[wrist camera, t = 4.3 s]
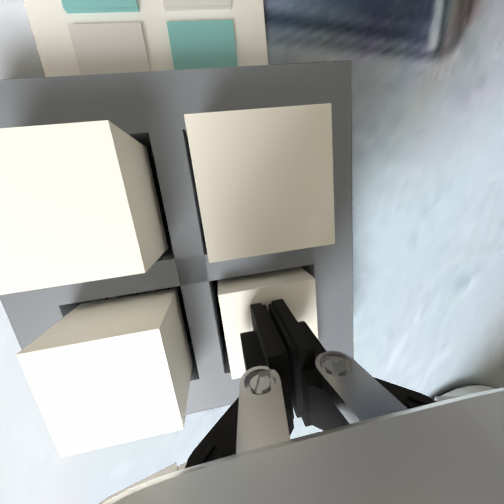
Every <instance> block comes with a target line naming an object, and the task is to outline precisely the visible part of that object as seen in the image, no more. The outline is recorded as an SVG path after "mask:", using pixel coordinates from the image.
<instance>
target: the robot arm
mask: <svg viewBox="0 0 504 504" xmlns="http://www.w3.org/2000/svg"><path fill="white" fill-rule="evenodd" d="M250 309H251V317H252V325H253V331H249V332H244V333H240V338H241V345H242V352H243V358H244V364H245V370H246V372H245V373H244V374H243V375H242V377H241V379H240V385H239V397H238V398H237V399H236V400H235V402H234V403H233V404H232V405H231V406H230V408H229V409H228V410H227V411H226V412H225V414H224V415H223V416H222V417H221V418H220V420H219V421H218V422H217V423H216V424H215V426H214V427H213V428H212V429H211V430H210V431H209V433H208V434H207V435H206V436H205V437H204V439H203V440H202V441H201V442H200V443H199V445H198V446H197V447H196V448H195V449H194V451H193V452H192V454H191V455H190V457H189V458H188V461H187V462H186V463H184V464H182V465H180V466H177V463H175V464H173V465H171V466H169V467H167V468H165V469H163V470H161V471H159V472H157V473H155V474H153V475H151V476H149V477H147V478H145V479H143V480H141V481H139V482H137V483H135V484H133V485H131V486H129V487H127V488H125V489H123V490H121V491H119V492H117V493H115V494H113V495H111V496H109V497H108V498H106V499H105V500H103V501H102V502H100V503H99V504H504V387H503V388H498V389H494V388H492V387H489V386H482V385H474V386H465V387H461V388H457V389H454V390H452V391H449V392H447V393H445V394H443V395H441V396H435V399H434V400H433V399H431V398H430V397H428V396H426V395H423V394H421V393H418V392H415V391H412V390H409V389H406V388H403V387H401V386H398V385H395V384H392V383H389V382H386V381H383V380H380V379H377V378H374V377H372V376H371V375H370V374H369V373H368V372H367V371H366V370H365V369H363V368H362V367H361V366H360V365H359V364H358V363H357V362H356V361H355V360H353V359H352V358H351V357H350V356H348V355H347V354H344V353H342V352H338V351H326V350H325V348H324V347H323V346H322V344H321V343H320V341H319V340H318V339H317V337H316V336H315V335H314V333H313V332H312V330H311V329H310V328H309V326H308V325H307V323H306V322H305V321H300V322H298V321H297V320H296V318H295V317H294V315H293V314H292V312H291V311H290V309H289V308H288V306H287V305H286V303H285V302H284V300H283V299H278V300H273V301H272V304H268V309H269V311H268V309H267V307H266V305H262V304H261V303H256V304H251V305H250ZM293 408H294V411H295V414H296V416H297V418H299V417H302V419H303V422H304V424H305V427H306V426H310V425H313V426H315V427H317V428H319V432H317V433H314V434H310V435H306V436H302V437H298V438H295V439H291V440H290V435H291V433H292V431H293V429H294V424H293V419H294V414H293Z"/></svg>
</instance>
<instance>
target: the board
mask: <svg viewBox="0 0 504 504" xmlns="http://www.w3.org/2000/svg"><path fill="white" fill-rule="evenodd" d="M23 2H24V5H25V9H26V12H27V16H28V19H29V23H30V26H31V29H32V33H33V36H34V40H35V43H36V46H37V50H38V53H39V57H40V60H41V64H42V67H43V70H44V74H45V77H38V78H19V79H1V80H0V128H12V127H25V126H38V125H51V124H64V123H77V122H90V121H103V120H109V121H110V122H111V123H113V124H114V125H116V126H117V127H118V128H120V129H121V130H123V131H124V132H125V133H127V134H128V135H130V136H131V137H133V138H134V139H135V140H137V141H138V142H140V143H141V144H142V145H144V146H145V147H147V150H152V152H153V156H154V161H155V166H156V171H157V176H158V181H159V185H160V190H161V195H162V200H163V205H164V209H165V214H166V219H167V224H168V229H169V234H170V238H171V243H172V246H171V247H168V249H167V250H166V251H165V252H164V253H163V254H162V255H161V257H160V258H159V259H158V260H157V261H156V262H155V263H154V264H153V265H152V266H151V267H150V268H149V269H148V271H147V272H146V273H141V274H135V275H128V276H121V277H115V278H108V279H102V280H95V281H89V282H82V283H76V284H69V285H63V286H56V287H50V288H43V289H37V290H30V291H23V292H17V293H10V294H4V295H0V299H1V302H2V304H3V307H4V309H5V311H6V314H7V316H8V318H9V321H10V323H11V325H12V328H13V330H14V333H15V335H16V337H17V340H18V342H19V344H20V347H21V349H22V350H23V349H24V348H25V347H26V346H28V345H29V344H30V343H32V342H33V341H34V340H35V339H37V338H38V337H39V336H40V335H42V334H43V333H44V332H45V331H47V330H48V329H49V328H51V327H52V326H53V325H54V324H56V323H57V322H58V321H59V320H61V319H62V318H63V317H64V316H66V315H67V314H68V313H70V312H71V311H72V310H73V309H75V308H76V307H77V306H78V305H80V304H81V303H86V302H93V301H99V300H102V299H103V298H109V297H115V296H121V295H127V294H133V293H140V292H146V291H152V290H158V289H164V288H170V287H177V286H180V287H181V291H182V296H183V301H184V306H185V311H186V316H187V320H188V325H189V330H190V335H191V340H192V343H191V344H189V348H190V353H191V358H192V362H193V365H192V372H191V379H190V386H189V393H188V400H187V407H186V414H185V415H188V414H192V413H196V412H201V411H205V410H210V409H214V408H218V407H223V406H227V405H232V404H233V403H234V402H235V400H236V399H237V398H238V397H239V385H240V379H241V378H237V379H232V377H231V371H230V365H229V359H228V353H227V347H226V341H225V337H223V335H222V329H221V323H220V317H219V311H218V305H217V299H216V293H215V287H214V280H220V279H226V278H232V277H238V276H244V275H251V274H257V273H263V272H269V271H275V270H281V269H288V268H294V267H302V268H303V269H304V270H305V271H306V272H308V273H309V274H310V275H311V276H312V277H314V278H315V287H316V307H317V326H318V340H319V341H320V343H321V344H322V346H323V347H324V348H325V350H326V351H338V352H342V353H344V354H347V355H348V356H350V357H351V358H352V359H353V360H354V358H353V233H352V107H351V60H350V61H331V62H313V63H295V64H276V65H268V54H267V42H266V31H265V19H264V7H263V0H23ZM324 103H331V111H332V148H333V185H334V221H335V244H331V245H324V246H318V247H311V248H304V249H298V250H291V251H285V252H278V253H272V254H265V255H259V256H252V257H246V258H239V259H233V260H226V261H219V262H213V263H209V260H208V254H207V248H206V242H205V236H204V230H203V224H202V219H201V213H200V207H199V201H198V195H197V189H196V183H195V177H194V171H193V166H192V160H191V154H190V148H189V142H188V136H187V130H186V124H185V118H184V114H194V113H207V112H220V111H233V110H246V109H259V108H272V107H285V106H298V105H311V104H324Z"/></svg>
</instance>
